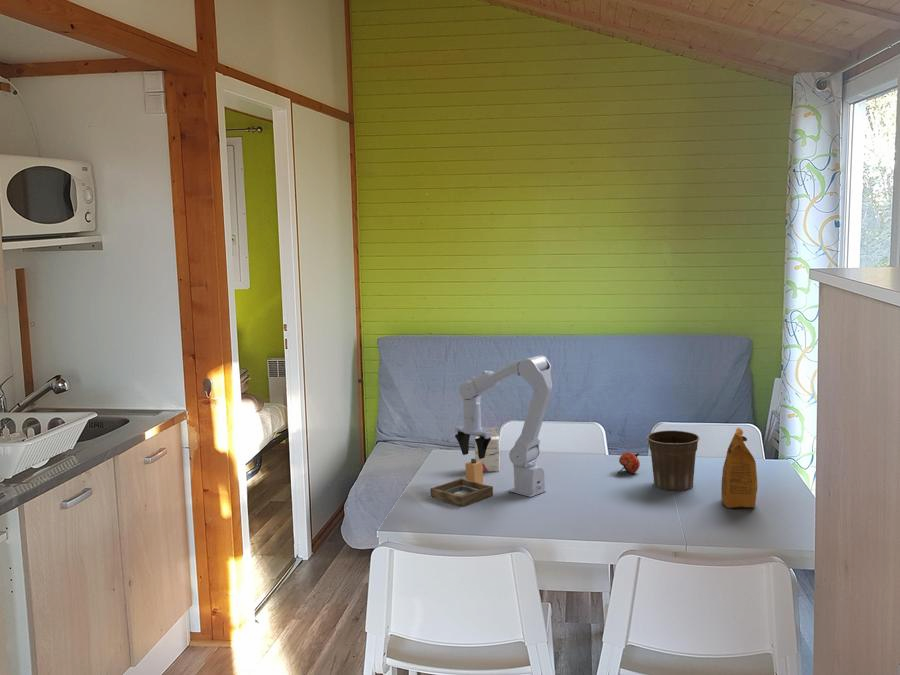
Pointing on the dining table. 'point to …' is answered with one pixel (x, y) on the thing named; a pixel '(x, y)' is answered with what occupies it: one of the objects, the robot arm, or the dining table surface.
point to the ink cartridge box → (490, 452)
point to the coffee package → (739, 474)
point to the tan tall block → (474, 471)
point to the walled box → (462, 492)
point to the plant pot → (673, 459)
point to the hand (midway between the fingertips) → (473, 456)
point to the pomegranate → (629, 462)
